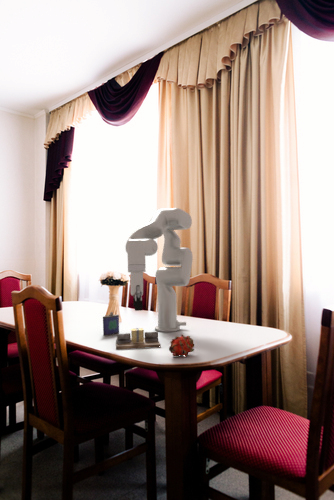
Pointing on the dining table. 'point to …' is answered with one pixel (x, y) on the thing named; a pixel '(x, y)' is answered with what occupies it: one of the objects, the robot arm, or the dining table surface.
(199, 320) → the dining table surface
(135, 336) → the coupler
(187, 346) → the dragon fruit
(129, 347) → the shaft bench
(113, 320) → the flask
